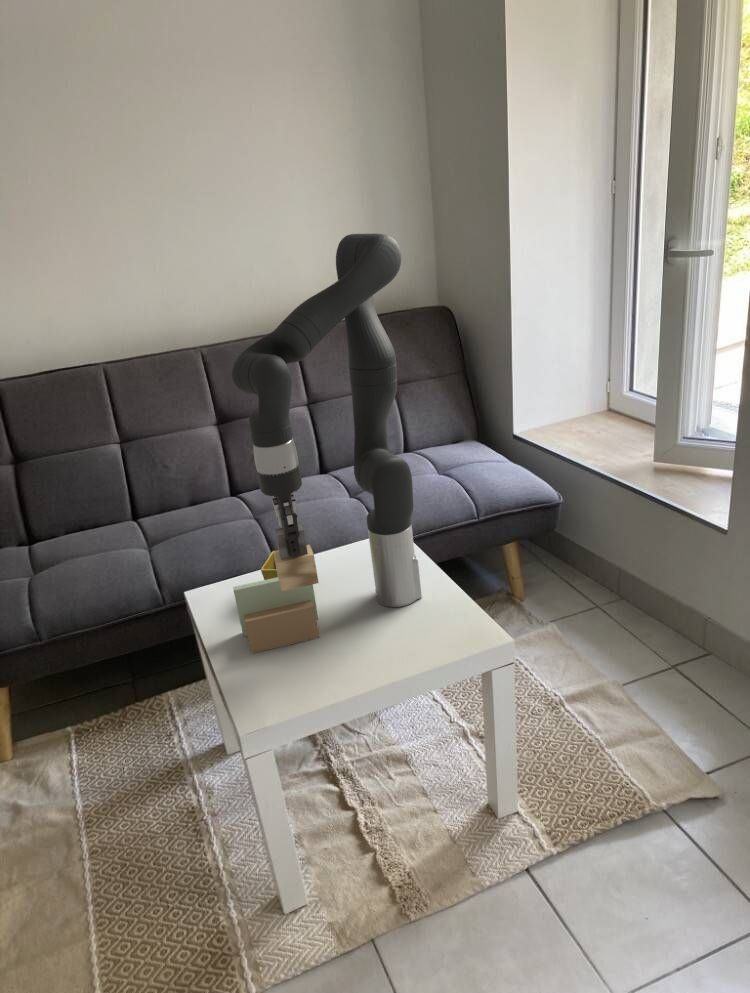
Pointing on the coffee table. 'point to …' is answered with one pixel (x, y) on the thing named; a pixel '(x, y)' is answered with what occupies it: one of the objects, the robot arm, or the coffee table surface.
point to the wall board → (276, 614)
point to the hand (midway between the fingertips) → (292, 550)
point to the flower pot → (269, 568)
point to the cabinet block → (294, 563)
